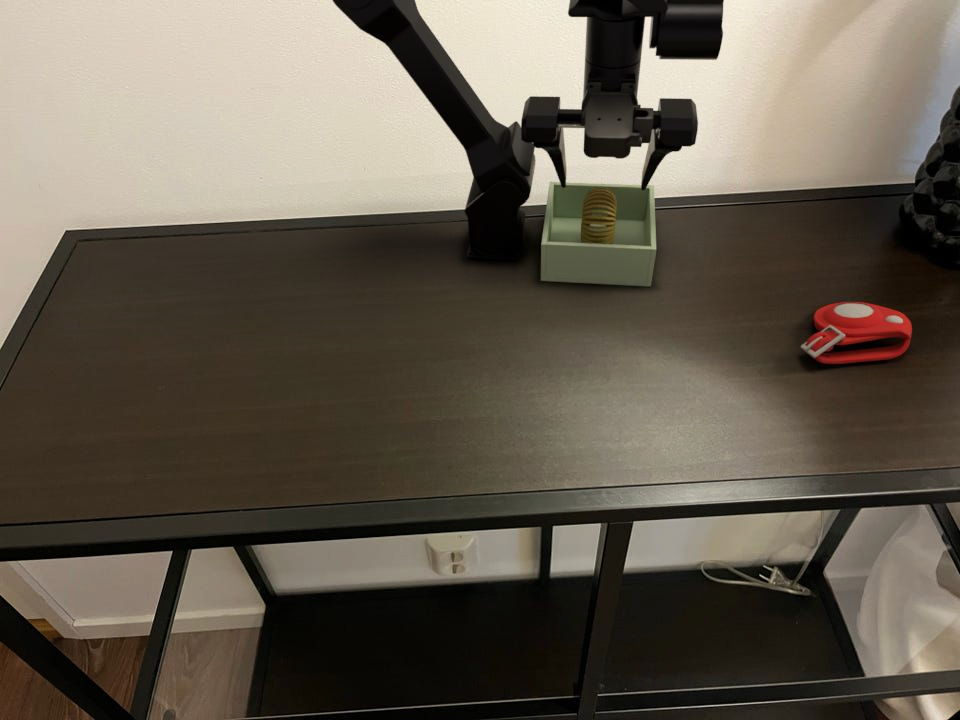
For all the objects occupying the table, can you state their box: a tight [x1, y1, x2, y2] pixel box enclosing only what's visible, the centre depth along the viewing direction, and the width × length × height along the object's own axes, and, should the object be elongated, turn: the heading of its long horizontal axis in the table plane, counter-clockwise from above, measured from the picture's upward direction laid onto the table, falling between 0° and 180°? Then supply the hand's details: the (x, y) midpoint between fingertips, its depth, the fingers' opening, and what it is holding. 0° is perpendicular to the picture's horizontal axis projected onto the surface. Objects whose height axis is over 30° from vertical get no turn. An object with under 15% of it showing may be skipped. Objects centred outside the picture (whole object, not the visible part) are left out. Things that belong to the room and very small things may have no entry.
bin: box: [540, 181, 657, 288], centre depth 93 cm, size 13×13×6 cm
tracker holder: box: [800, 301, 913, 365], centre depth 80 cm, size 12×4×10 cm
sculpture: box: [581, 187, 617, 244], centre depth 91 cm, size 8×4×8 cm, turn 170°
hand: (603, 187), depth 88 cm, fingers open, 9 cm apart
